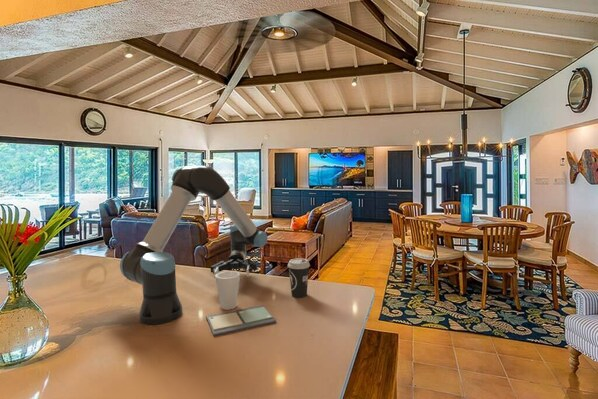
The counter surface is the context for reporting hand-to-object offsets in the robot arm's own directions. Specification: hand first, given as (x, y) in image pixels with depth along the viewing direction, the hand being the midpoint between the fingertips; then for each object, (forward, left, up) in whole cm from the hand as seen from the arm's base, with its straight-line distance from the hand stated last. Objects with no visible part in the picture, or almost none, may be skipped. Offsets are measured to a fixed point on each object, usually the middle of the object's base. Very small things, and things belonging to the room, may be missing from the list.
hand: (231, 274), depth 147 cm
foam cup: (-4, -9, -10) cm, 14 cm away
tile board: (-3, -24, -10) cm, 26 cm away
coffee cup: (+26, -11, -10) cm, 30 cm away
